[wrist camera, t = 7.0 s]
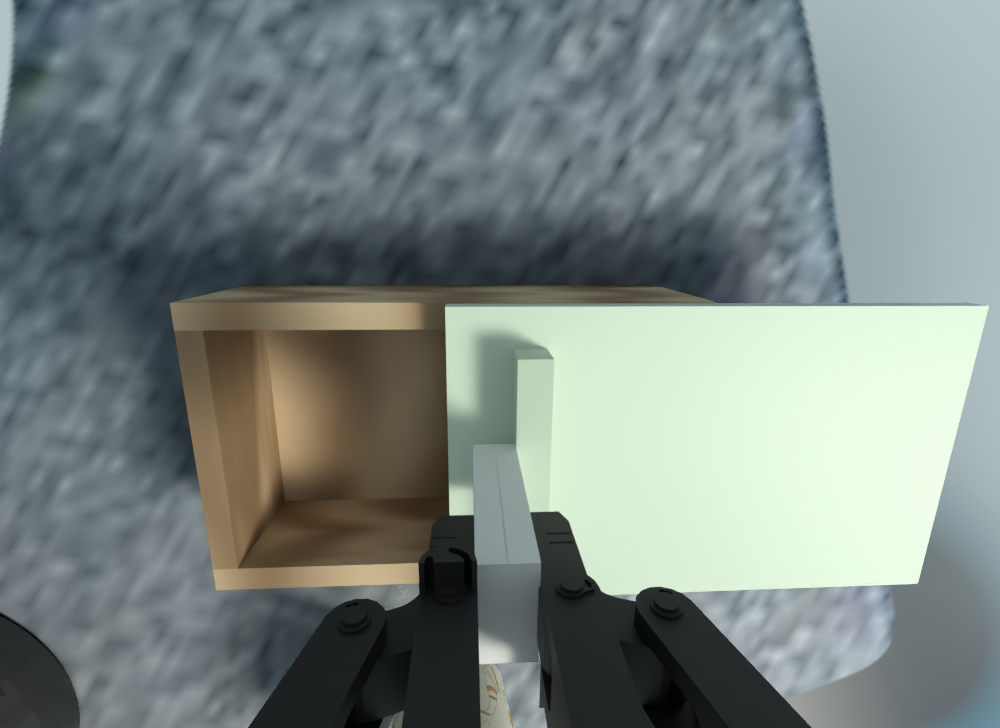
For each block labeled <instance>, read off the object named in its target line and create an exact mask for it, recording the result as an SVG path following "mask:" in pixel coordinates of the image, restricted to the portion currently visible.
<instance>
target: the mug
mask: <svg viewBox="0 0 1000 728" xmlns="http://www.w3.org/2000/svg"><path fill="white" fill-rule="evenodd" d="M479 675H480V715H481V728H513V724H512V720H511V715H510V711H509V706H508V702H507V697H506V693H505V688H504V684H503V680H502V677H501V674H500V672H499V670H498V668H497V666H496V665H495V664H479ZM403 713H404V711H402V712H399V713H396V714H395V717H394V721H393V724H392V728H402V721H403Z"/></svg>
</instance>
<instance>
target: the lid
mask: <svg viewBox="0 0 1000 728" xmlns="http://www.w3.org/2000/svg"><path fill="white" fill-rule="evenodd" d="M988 307H989V306H987V305H979V304H972V303H568V304H446V305H445V328H446V374H447V421H448V467H449V513H450V515H474V497H473V445H483V444H515V445H516V449H517V454H518V459H519V463H520V468H521V472H522V477H523V482H524V486H525V491H526V495H527V500H528V505H529V509H530V512H555V511H559V512H560V513H561V514H562V515H563V516H564V517H565V518H566V519H567V520H568V521H569V523H570V526H571V529H572V532H573V535H574V538H575V541H576V544H577V546H578V549H579V552H580V555H581V558H582V561H583V564H584V567H585V570H586V573H587V575H588V576H590V577H591V578H592V579H594V580H595V581H596V583H597V584H598V586H599V587H600V590H601V591H602V592H603V593H606V594H608V595H618V594H639V593H640V592H641V591H642V590H644V589H647V588H649V587H664V588H669V589H673V590H675V591H677V592H701V591H729V590H756V589H784V588H812V587H839V586H867V585H895V584H917V583H918V581H919V576H920V573H921V568H922V565H923V561H924V557H925V553H926V549H927V545H928V541H929V538H930V534H931V530H932V526H933V522H934V518H935V514H936V510H937V507H938V503H939V499H940V495H941V491H942V487H943V483H944V479H945V475H946V471H947V468H948V464H949V460H950V456H951V452H952V448H953V444H954V440H955V436H956V432H957V428H958V424H959V421H960V417H961V413H962V409H963V405H964V401H965V397H966V394H967V390H968V386H969V382H970V378H971V374H972V370H973V366H974V362H975V358H976V355H977V351H978V347H979V343H980V339H981V335H982V331H983V327H984V323H985V319H986V316H987V312H988Z"/></svg>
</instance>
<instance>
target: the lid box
mask: <svg viewBox="0 0 1000 728" xmlns="http://www.w3.org/2000/svg"><path fill="white" fill-rule="evenodd" d="M568 303H716V302H714V301H710V300H707V299H703V298H699V297H696V296H692V295H689V294H685V293H682V292H678V291H674V290H671V289H667V288H664V287H660V286H656V285H245V286H241V287H237V288H232V289H228V290H224V291H219V292H215V293H211V294H206V295H202V296H198V297H193V298H189V299H185V300H180V301H176V302H172V303H170V309H171V315H172V321H173V327H174V333H175V339H176V346H177V352H178V358H179V364H180V370H181V376H182V383H183V389H184V395H185V401H186V407H187V413H188V420H189V426H190V432H191V438H192V444H193V450H194V456H195V463H196V469H197V475H198V481H199V487H200V493H201V500H202V506H203V512H204V518H205V524H206V530H207V537H208V543H209V549H210V555H211V561H212V567H213V574H214V580H215V586H216V590H238V589H268V588H297V587H327V586H356V585H385V584H415V583H419V567H418V563H419V561H420V558H421V556H422V555H423V554H424V553H426V552H427V551H428V550H429V545H430V539H431V530H432V525H433V524H434V523H435V522H436V520H437V519H438V518H439V517H440V516H450V513H449V467H448V421H447V374H446V328H445V305H446V304H568Z"/></svg>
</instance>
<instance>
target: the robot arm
mask: <svg viewBox="0 0 1000 728" xmlns="http://www.w3.org/2000/svg"><path fill="white" fill-rule="evenodd" d="M473 497H474V515H450V516H440V517H439V518H438V519H437V520H436V522H435V523H434V524H433V525H432V530H431V539H430V545H429V550H428V551H427V552H426V553H424V554H423V555H422V556H421V558H420V561H419V563H418V567H419V592H420V594H419V595H418V596H417V597H416V598H415V599H414V600H413V601H411V602H409V603H408V604H406V605H404V606H401V607H398V608H395V609H392V610H388V611H385V610H384V608H383V607H382V606H381V605H380V604H379V603H378V602H376V601H372V600H369V599H355V600H351V601H348V602H344V603H342V604H341V605H339V606H337V607H335V608H334V609H333V610H332V611H331V612H330V613H329V614H328V615H327V616H326V617H325V618H324V620H323V621H322V623H321V624H320V626H319V627H318V628H317V630H316V631H315V633H314V634H313V636H312V637H311V638H310V640H309V641H308V643H307V644H306V646H305V647H304V648H303V650H302V651H301V653H300V654H299V656H298V657H297V658H296V660H295V661H294V663H293V664H292V666H291V667H290V668H289V670H288V671H287V673H286V674H285V676H284V677H283V678H282V680H281V681H280V683H279V684H278V686H277V687H276V689H275V690H274V691H273V693H272V694H271V696H270V697H269V699H268V700H267V701H266V703H265V704H264V706H263V707H262V709H261V710H260V711H259V713H258V714H257V716H256V717H255V719H254V720H253V721H252V723H251V724H250V726H249V727H248V728H388V727H389V724H390V721H391V716H392V715H393V714H396V713H399V712H402V711H404V713H403V721H402V728H481V715H480V675H479V664H496V663H519V662H538V648H539V654H540V660H541V676H540V706H539V708H545V714H546V721H547V727H548V728H811V727H810V726H809V725H808V724H807V722H805V720H804V719H803V718H802V717H801V716H800V715H799V714H798V713H797V712H796V711H795V710H794V709H793V708H792V707H791V706H790V704H789V703H788V702H787V701H786V700H785V699H784V698H783V697H782V696H781V695H780V694H779V693H778V692H777V691H776V690H775V689H774V688H773V687H772V685H771V684H770V683H769V682H768V681H767V680H766V679H765V678H764V677H763V676H762V675H761V674H760V673H759V672H758V671H757V670H756V669H755V667H754V666H753V665H752V664H751V663H750V662H749V661H748V660H747V659H746V658H745V657H744V656H743V655H742V654H741V653H740V652H739V651H738V650H737V648H736V647H735V646H734V645H733V644H732V643H731V642H730V641H729V640H728V639H727V638H726V637H725V636H724V635H723V634H722V633H721V632H720V631H719V629H718V628H717V627H716V626H715V625H714V624H713V623H712V622H711V621H710V620H709V619H708V618H707V617H706V616H705V615H704V614H703V613H702V611H701V610H700V609H699V608H698V607H697V606H696V605H695V604H694V603H693V602H692V601H691V600H690V599H688V598H687V597H686V596H685V595H683V594H682V593H679V592H677V591H675V590H673V589H669V588H664V587H649V588H647V589H644V590H642V591H641V592H640V593H639V594H638V595H637V597H636V602H635V601H630V600H625V599H620V598H616V597H613V596H610V595H608V594H606V593H603V592H602V591H601V590H600V587H599V586H598V584H597V583H596V581H595V580H594V579H592V578H591V577H590V576H588V575H587V573H586V570H585V567H584V564H583V561H582V558H581V555H580V552H579V549H578V546H577V544H576V541H575V538H574V535H573V532H572V529H571V526H570V523H569V521H568V520H567V519H566V518H565V517H564V516H563V515H562V514H561V513H560V512H559V511H555V512H530V509H529V505H528V500H527V495H526V491H525V486H524V482H523V477H522V472H521V468H520V463H519V459H518V454H517V449H516V445H515V444H483V445H473ZM79 724H80V714H79V706H78V701H77V697H76V694H75V691H74V689H73V686H72V684H71V682H70V680H69V678H68V676H67V674H66V673H65V671H64V670H63V668H62V667H61V665H60V664H59V663H58V661H57V660H56V659H55V658H54V657H53V655H52V654H51V653H50V652H49V651H48V650H47V649H46V648H45V647H44V646H43V645H42V644H41V643H40V642H38V641H37V640H36V639H35V638H34V637H32V636H31V635H30V634H29V633H27V632H26V631H24V630H23V629H21V628H20V627H18V626H17V625H15V624H14V623H12V622H10V621H8V620H7V619H5V618H3V617H1V616H0V728H79Z"/></svg>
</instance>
